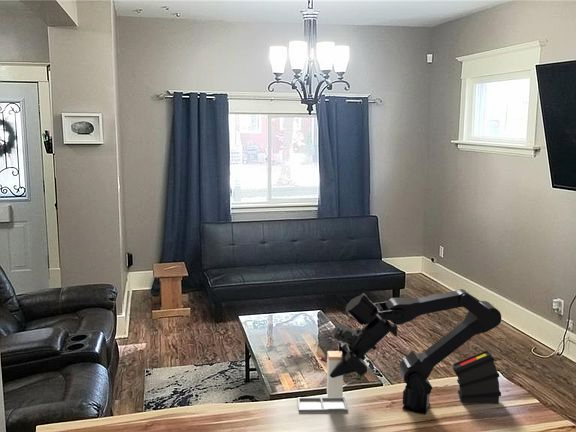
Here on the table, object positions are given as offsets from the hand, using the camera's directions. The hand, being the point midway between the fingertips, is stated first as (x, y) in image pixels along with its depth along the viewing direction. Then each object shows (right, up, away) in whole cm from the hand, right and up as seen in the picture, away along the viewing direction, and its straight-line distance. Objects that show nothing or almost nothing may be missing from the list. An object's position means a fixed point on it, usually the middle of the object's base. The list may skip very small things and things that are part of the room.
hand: (330, 373), depth 161 cm
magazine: (+43, -10, +7) cm, 44 cm away
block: (+1, -6, +1) cm, 7 cm away
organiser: (-2, -10, +2) cm, 11 cm away
